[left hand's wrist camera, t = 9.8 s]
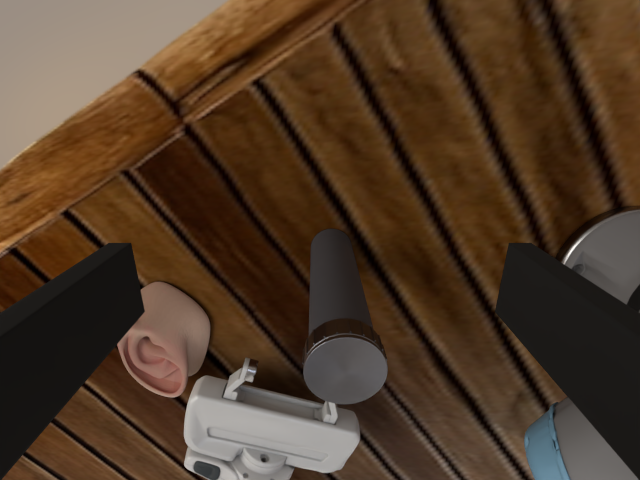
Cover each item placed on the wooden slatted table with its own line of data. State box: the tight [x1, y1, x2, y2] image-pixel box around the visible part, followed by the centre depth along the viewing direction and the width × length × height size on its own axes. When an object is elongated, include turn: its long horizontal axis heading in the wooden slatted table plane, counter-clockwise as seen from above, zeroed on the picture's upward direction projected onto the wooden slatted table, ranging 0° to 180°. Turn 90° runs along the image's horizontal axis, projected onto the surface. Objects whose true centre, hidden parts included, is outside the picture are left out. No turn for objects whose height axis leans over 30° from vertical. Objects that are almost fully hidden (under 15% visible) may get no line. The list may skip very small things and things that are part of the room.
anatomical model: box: [117, 282, 210, 397], centre depth 42 cm, size 13×4×12 cm
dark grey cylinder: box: [309, 229, 373, 336], centre depth 31 cm, size 5×5×20 cm
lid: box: [303, 318, 388, 404], centre depth 23 cm, size 5×5×2 cm
